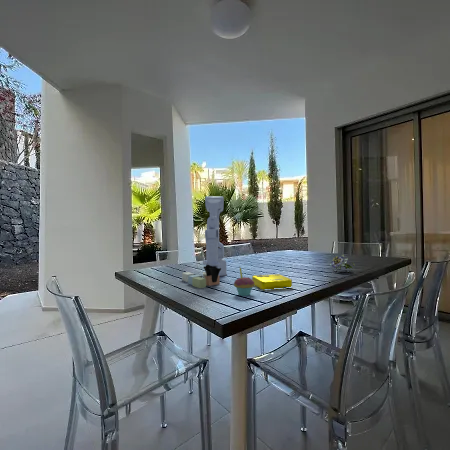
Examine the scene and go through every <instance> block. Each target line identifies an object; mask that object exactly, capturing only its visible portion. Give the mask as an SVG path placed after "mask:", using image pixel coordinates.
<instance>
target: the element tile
mask: <svg viewBox="0 0 450 450" xmlns="http://www.w3.org/2000/svg"><path fill="white" fill-rule="evenodd" d="M251 279H252V280H253V281H254V284H255V286H254V287H256V286H257V287H259V288H260V289H259V288H258V289H259V290H261V289H274V288H283V287H291V286H292V287H293V280H292V279H291V278H290V277H287V276H284V275H281V274H279V273H276V274H275V273H274V274H272V273H271V274H257V275H252V278H251ZM257 287H256V288H257Z"/></svg>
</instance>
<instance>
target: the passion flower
mask: <svg viewBox="0 0 450 450" xmlns="http://www.w3.org/2000/svg"><path fill="white" fill-rule="evenodd" d="M344 257H345V254H342V255H340V256H334V257H333V258H332V261H331V263H329V266H332V269H333V268H336V269H337V268H338V269H340V270H341V269H342V268H343V267H345V269H347V268H349V269H350V268H352V269H353V267H354V266H355V263H354V262H352V265H353V267H352V266H351V265H350V264H351V262H350V263H348V260H349V258H348V257H346V258H344ZM338 269H337V270H338ZM350 270H351V269H350Z"/></svg>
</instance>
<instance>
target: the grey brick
mask: <svg viewBox="0 0 450 450" xmlns="http://www.w3.org/2000/svg"><path fill="white" fill-rule="evenodd" d="M181 274H182V275H181V276H182V277H181V279H182V281H183V282H186V283H188V276H192V275H195V274H194V273H193V272H189V271H185V272H182V273H181Z"/></svg>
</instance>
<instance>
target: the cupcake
mask: <svg viewBox="0 0 450 450" xmlns="http://www.w3.org/2000/svg"><path fill="white" fill-rule="evenodd" d="M239 274H240V277H239V278H237V279H235V281H234V282H233V285H234V287H235V288H236V291H237V293H238V295H239V296H240V295H241V296H242V297H246V296H250V295H251V292H252V289H253V288H254V287H255V286H254V285H255V284H254V281H253V280H252V278H250V277H245V276H244V277H243V272H242V268H241V267H239ZM241 296H240V297H241Z"/></svg>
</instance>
